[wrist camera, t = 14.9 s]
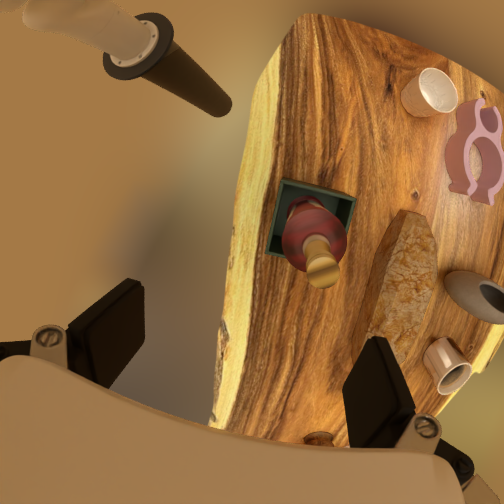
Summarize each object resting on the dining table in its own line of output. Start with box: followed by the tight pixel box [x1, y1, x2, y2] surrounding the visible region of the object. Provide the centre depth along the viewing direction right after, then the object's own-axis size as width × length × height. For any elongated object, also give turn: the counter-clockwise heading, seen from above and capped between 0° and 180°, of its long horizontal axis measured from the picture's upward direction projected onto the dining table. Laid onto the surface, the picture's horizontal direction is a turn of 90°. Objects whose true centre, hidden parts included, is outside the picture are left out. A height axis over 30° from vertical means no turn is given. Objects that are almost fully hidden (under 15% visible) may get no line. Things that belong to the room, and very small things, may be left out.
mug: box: [423, 337, 472, 395], centre depth 47 cm, size 10×12×11 cm
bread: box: [352, 210, 438, 365], centre depth 45 cm, size 36×11×10 cm, turn 174°
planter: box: [444, 271, 504, 324], centre depth 37 cm, size 18×7×19 cm, turn 78°
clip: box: [445, 98, 504, 206], centre depth 35 cm, size 20×12×7 cm, turn 171°
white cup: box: [400, 68, 458, 118], centre depth 33 cm, size 8×8×10 cm
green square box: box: [265, 177, 357, 259], centre depth 43 cm, size 11×11×10 cm
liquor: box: [282, 196, 347, 289], centre depth 34 cm, size 7×7×28 cm
